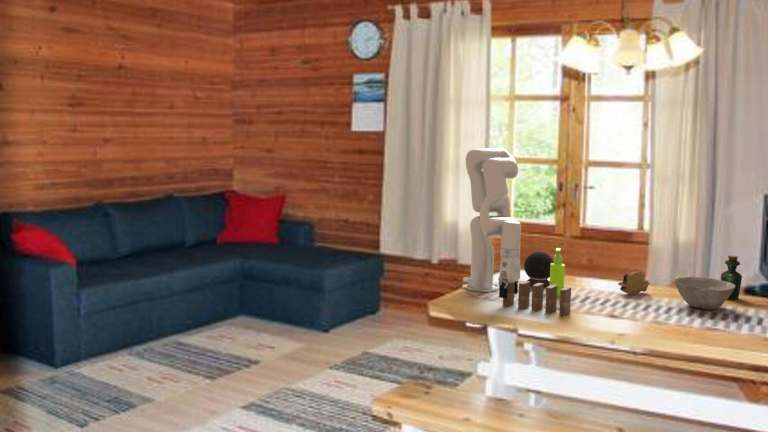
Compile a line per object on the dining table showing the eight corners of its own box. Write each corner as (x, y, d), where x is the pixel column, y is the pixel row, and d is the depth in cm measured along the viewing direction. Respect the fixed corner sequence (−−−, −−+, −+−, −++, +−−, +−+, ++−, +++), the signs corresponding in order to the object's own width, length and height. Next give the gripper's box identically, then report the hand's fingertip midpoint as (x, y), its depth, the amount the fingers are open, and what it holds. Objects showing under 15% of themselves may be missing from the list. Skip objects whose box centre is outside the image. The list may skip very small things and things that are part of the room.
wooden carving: (640, 291, 323) (642, 268, 322) (649, 293, 320) (651, 270, 318) (615, 295, 314) (616, 271, 313) (624, 297, 311) (625, 273, 309)
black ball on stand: (559, 287, 327) (560, 253, 325) (531, 288, 324) (532, 254, 322) (544, 281, 340) (546, 248, 338) (518, 282, 336) (519, 249, 335)
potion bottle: (729, 295, 318) (733, 253, 316) (744, 299, 310) (748, 257, 308) (714, 296, 315) (717, 254, 313) (729, 301, 308) (733, 258, 305)
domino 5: (559, 315, 279) (560, 289, 278) (564, 312, 284) (566, 286, 283) (564, 316, 278) (565, 290, 277) (570, 313, 283) (571, 287, 282)
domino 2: (518, 308, 288) (519, 283, 287) (524, 305, 293) (525, 280, 292) (522, 309, 287) (524, 284, 286) (529, 306, 292) (530, 281, 291)
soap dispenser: (548, 296, 309) (550, 248, 307) (549, 293, 316) (552, 246, 313) (562, 297, 308) (565, 249, 305) (564, 294, 314) (566, 247, 312)
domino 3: (531, 311, 285) (532, 285, 284) (537, 308, 290) (538, 282, 289) (536, 311, 284) (537, 286, 283) (542, 308, 289) (543, 283, 288)
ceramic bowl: (703, 316, 281) (705, 290, 280) (659, 302, 303) (661, 278, 301) (747, 312, 290) (749, 287, 288) (701, 298, 311) (703, 275, 310)
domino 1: (502, 306, 292) (503, 281, 290) (509, 303, 297) (510, 278, 295) (507, 307, 291) (508, 281, 289) (513, 304, 296) (514, 279, 294)
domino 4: (545, 313, 282) (546, 287, 281) (551, 310, 287) (552, 284, 286) (550, 314, 281) (551, 288, 280) (556, 311, 286) (557, 285, 285)
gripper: (509, 256, 282) (507, 301, 284) (528, 250, 296) (526, 292, 298) (491, 254, 286) (489, 298, 288) (510, 248, 300) (508, 290, 303)
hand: (508, 295), depth 293 cm, fingers open, 9 cm apart
